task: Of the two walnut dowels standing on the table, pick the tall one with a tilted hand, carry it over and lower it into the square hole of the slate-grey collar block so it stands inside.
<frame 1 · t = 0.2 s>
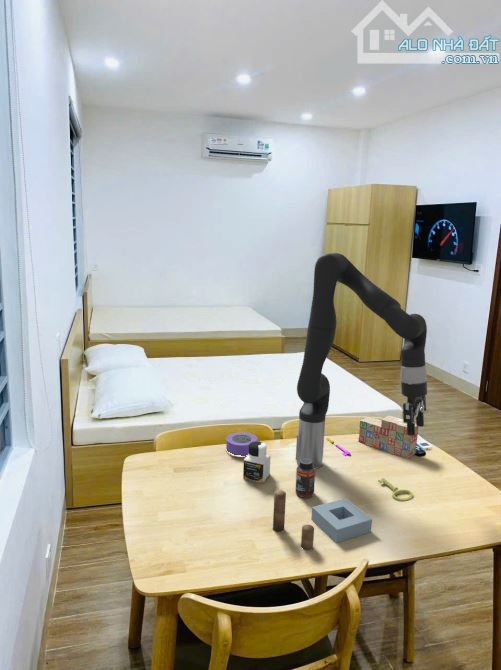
hand: (415, 430, 154), 22 cm above the table, tool pointing down, fingers open, 8 cm apart
medicine bottle: (256, 477, 168), on the table
walnut pin tall: (278, 528, 139), on the table
walnut pin short: (306, 546, 132), on the table
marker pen: (336, 448, 192), on the table
key: (395, 493, 161), on the table
tape roll: (241, 451, 187), on the table
collar block: (340, 525, 141), on the table
supplement bottle: (304, 494, 158), on the table
stack of blocks: (386, 448, 193), on the table
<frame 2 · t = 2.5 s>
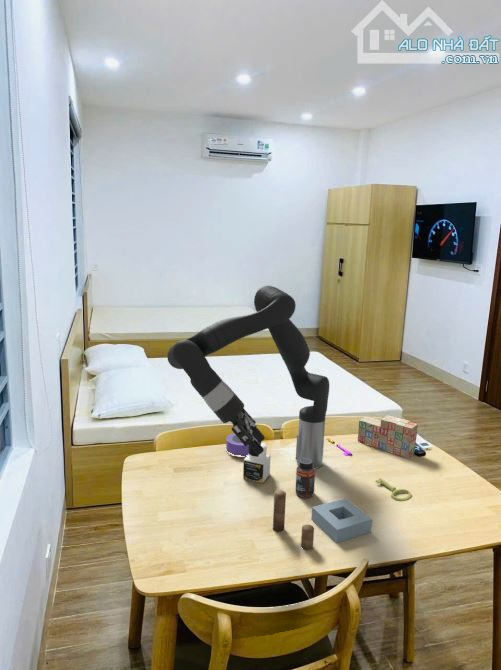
hand: (261, 446, 134), 25 cm above the table, tool tilted 40°, fingers open, 8 cm apart
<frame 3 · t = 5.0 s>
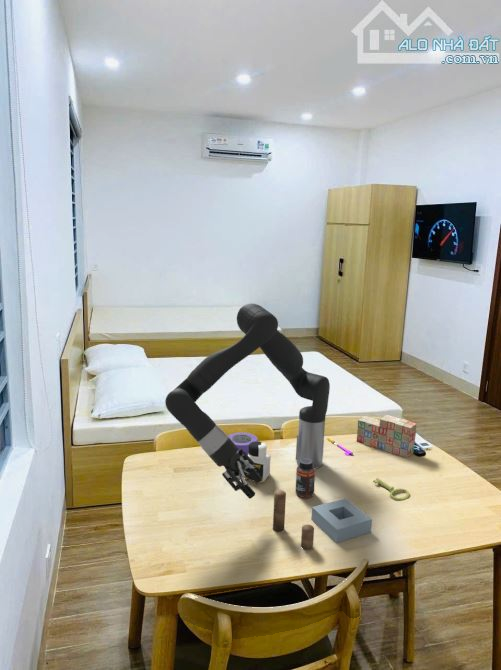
hand: (256, 488, 138), 11 cm above the table, tool tilted 45°, fingers open, 8 cm apart
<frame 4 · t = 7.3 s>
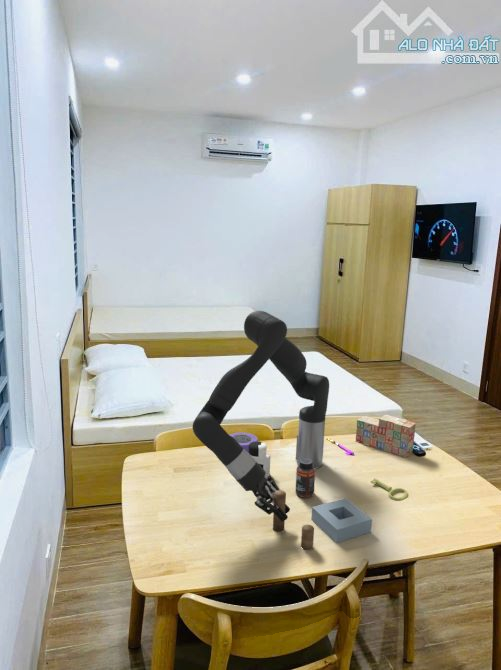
hand: (286, 515, 138), 4 cm above the table, tool tilted 45°, fingers closed on walnut pin tall, 3 cm apart
walnut pin tall: (278, 528, 139), on the table, touching gripper
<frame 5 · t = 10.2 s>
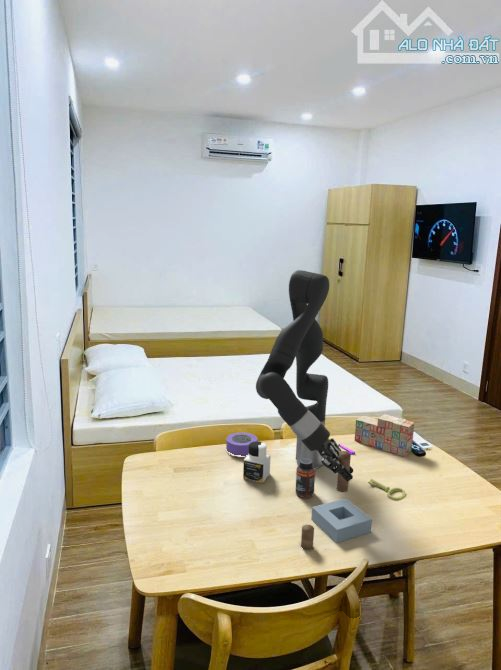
hand: (350, 475, 138), 16 cm above the table, tool tilted 45°, fingers closed on walnut pin tall, 3 cm apart
walnut pin tall: (342, 489, 139), point 11 cm above the table, touching gripper
when the fingers open (6 cm above the table, at t = 12.9 s): walnut pin tall drops 1 cm, resting in collar block.
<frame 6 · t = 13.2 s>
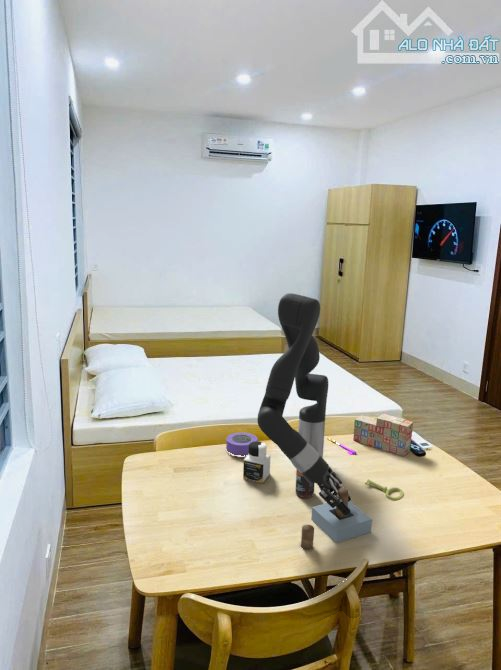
hand: (348, 506, 140), 6 cm above the table, tool tilted 45°, fingers open, 6 cm apart
walnut pin tall: (340, 525, 141), resting in collar block
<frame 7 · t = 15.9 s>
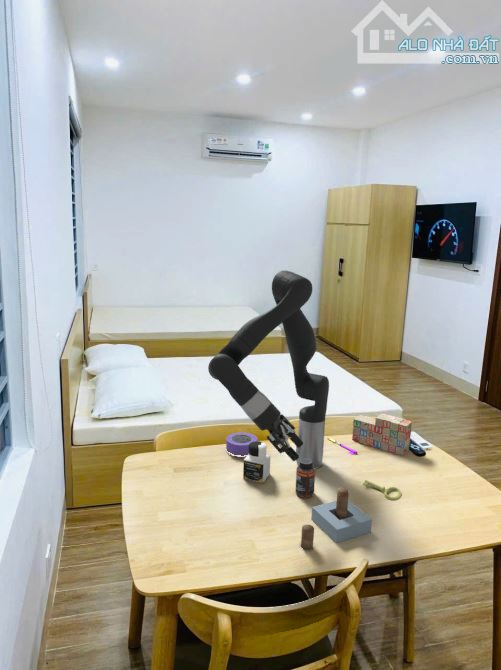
hand: (299, 452, 140), 21 cm above the table, tool tilted 45°, fingers open, 8 cm apart
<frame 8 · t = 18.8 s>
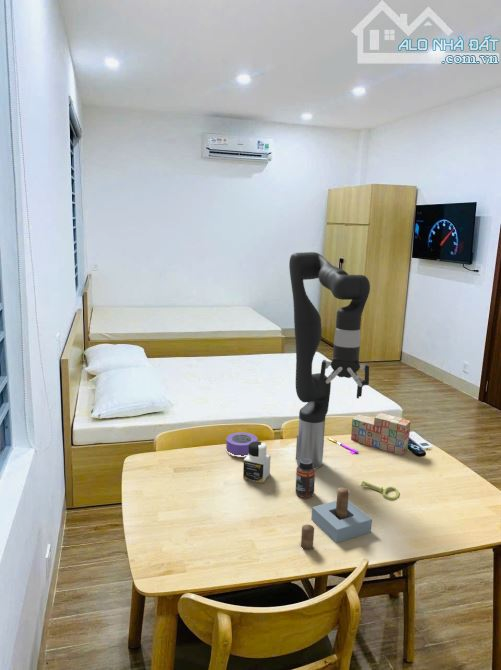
hand: (343, 396, 148), 34 cm above the table, tool pointing down, fingers open, 8 cm apart
at the end: walnut pin tall 0.1 cm off-centre on the collar block, point 0.0 cm above the collar block's base; walnut pin tall tilted 0°; the gripper is holding nothing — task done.
